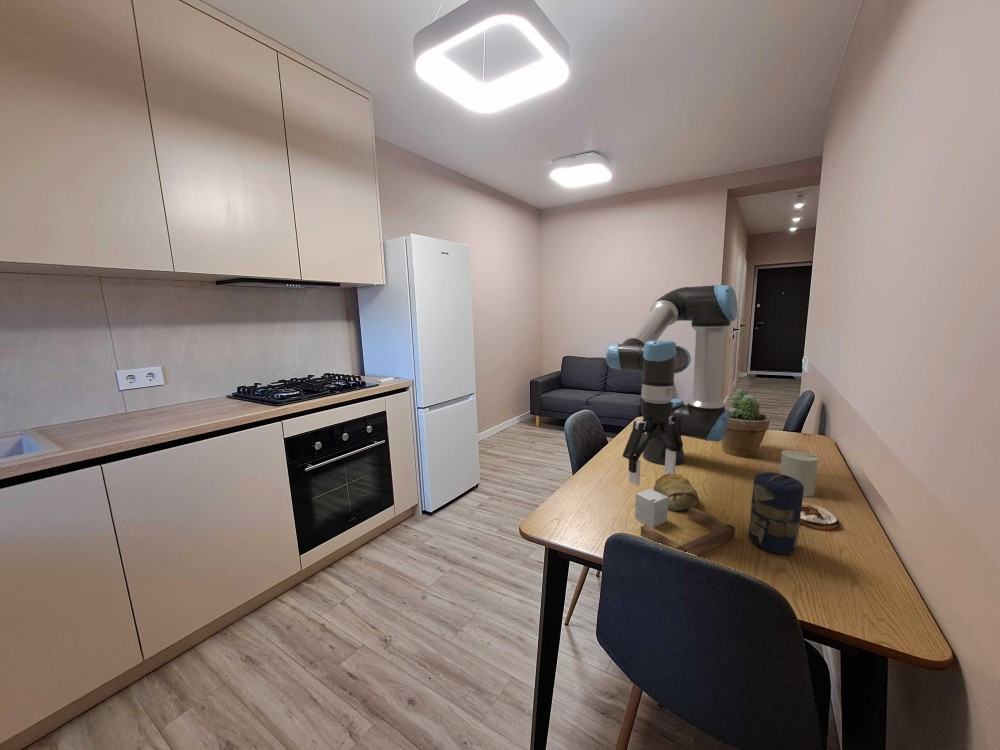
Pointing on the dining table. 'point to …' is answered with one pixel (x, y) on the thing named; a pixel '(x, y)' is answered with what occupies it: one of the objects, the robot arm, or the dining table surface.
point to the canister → (776, 512)
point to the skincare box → (651, 507)
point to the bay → (702, 544)
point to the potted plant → (744, 426)
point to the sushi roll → (817, 517)
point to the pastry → (677, 492)
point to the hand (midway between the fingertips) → (652, 478)
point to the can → (800, 468)
